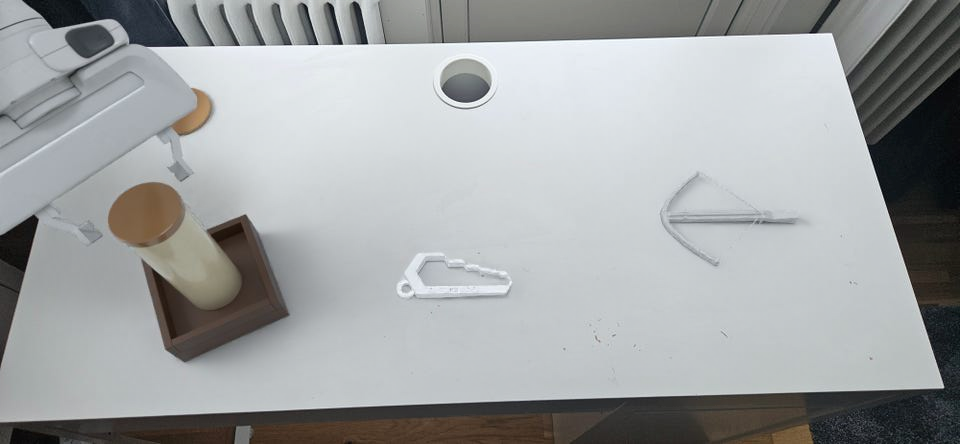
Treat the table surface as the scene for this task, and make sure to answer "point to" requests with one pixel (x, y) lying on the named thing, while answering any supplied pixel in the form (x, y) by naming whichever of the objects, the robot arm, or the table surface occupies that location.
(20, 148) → the robot arm
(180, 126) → the coaster
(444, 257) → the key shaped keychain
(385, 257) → the table surface
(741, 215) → the crossbow
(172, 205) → the cylindrical canister
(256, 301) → the tray
